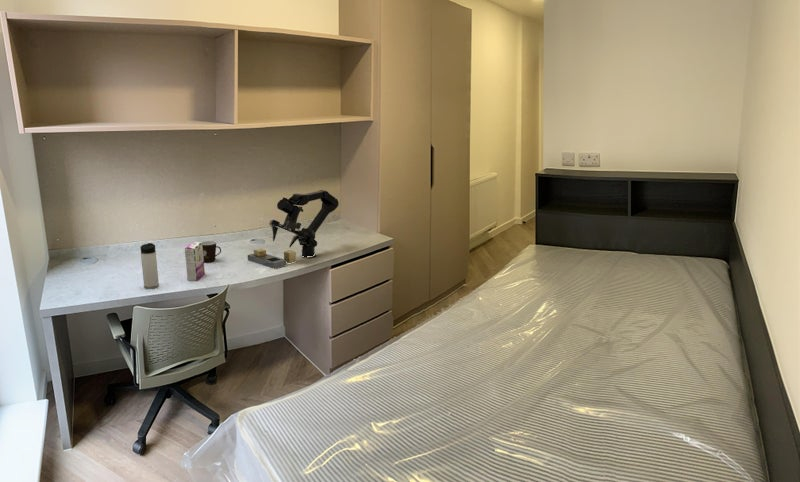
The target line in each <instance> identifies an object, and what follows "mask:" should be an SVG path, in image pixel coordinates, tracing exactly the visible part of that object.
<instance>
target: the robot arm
mask: <svg viewBox="0 0 800 482" xmlns="http://www.w3.org/2000/svg"><path fill="white" fill-rule="evenodd" d="M317 200H320V201H321V202H322V203H321V208H320V210H319V211H318V213H317V214H316V215H315V217H314V218H313V220H312V221H311V223H310V224H309V226H308V227H306V228H305V227H302V228H301V226H302V223H301V222H297V221H298V218H299V215H300V213H301V212H302V213H304V209H303V206H305V205H307V204H308V203H309V202H312V201H317ZM338 207H339V200H338V199H337V198H336V197H335V196H333V195H332V194H330V193H329V191H328V190H323V189H319V190H317V191H313V192H308V193H293V194H292V196H291V197H289V198H287V197H282V199H280V200H279V201H278V202H277V204H276V208H277V209H278V210H280V211H282V212H283V213H285V214H286V216H285V219H284V222H283V224H281V223H280V221H278V220H275V219H272V220H271V219H270V221H269V223H268V225H269V226H270V228H271V229H272V231H271V232H272V242H274V241H275V240H276V237H277V234H278V233H277V232H278V231H279V229H282V230H285V231H287V232H289V233H291V234H292V233H293V234H294V235H293V236H292V239H291V241H290V243H289V246H288V247H289V248H291V247H292V246H293V245H294V243H296V241H297V240H298V242H299V243H298V244H299V245H300V246H301V248H302V249H301V255H302V256H304V257H307V256H313V255H314V254H315V255H316V253H315V249H316V247H317V246H318V241H317V240H316V232H317V231H318V230H319V228H320V227H321V226H322V224H323V222H324V221H326V220H325V219H326V218H327V217H328V215H329V214H331V213H332V212H334V211H336V209H337V208H338ZM304 257H303V258H304Z"/></svg>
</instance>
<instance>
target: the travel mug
mask: <svg viewBox="0 0 800 482" xmlns="http://www.w3.org/2000/svg"><path fill="white" fill-rule="evenodd" d="M139 247H140V257H141V258H140V259H141V267H142V268H141V269H142V270H141V271H142V278H143V279H142V280H143V288H144V289H148V290H151V289H152V290H153V289H156V288H158V287H159V286H160V284H159V274H158V259H157V250H156V245H155V243H153V242H149V243H145V244H142V245H141V246H139Z"/></svg>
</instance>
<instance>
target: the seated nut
mask: <svg viewBox="0 0 800 482" xmlns="http://www.w3.org/2000/svg"><path fill="white" fill-rule="evenodd" d="M253 253H254V256H256V257H263V256H266V254H267V249H263V248H258V249H253Z"/></svg>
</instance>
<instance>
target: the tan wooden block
mask: <svg viewBox="0 0 800 482" xmlns="http://www.w3.org/2000/svg"><path fill="white" fill-rule="evenodd" d="M296 253H297V252H296V251H294V250H292V249H289V250H286V251H283V259H284V260H286V262H287V263H292V262H295V261H296V262H297V254H296ZM287 263H286V264H287ZM292 264H293V263H292Z"/></svg>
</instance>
